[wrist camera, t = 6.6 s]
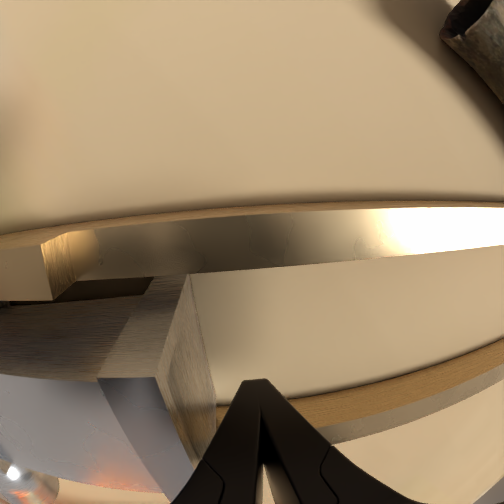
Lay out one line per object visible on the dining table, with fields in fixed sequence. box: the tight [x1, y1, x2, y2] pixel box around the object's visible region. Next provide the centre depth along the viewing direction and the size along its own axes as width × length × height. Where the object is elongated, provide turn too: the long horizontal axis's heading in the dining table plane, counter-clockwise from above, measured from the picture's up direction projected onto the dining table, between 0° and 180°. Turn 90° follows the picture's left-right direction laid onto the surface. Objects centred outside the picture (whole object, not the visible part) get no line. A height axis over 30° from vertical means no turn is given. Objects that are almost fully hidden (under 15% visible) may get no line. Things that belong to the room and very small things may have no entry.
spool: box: [0, 274, 216, 502], centre depth 8 cm, size 6×10×6 cm, turn 96°
